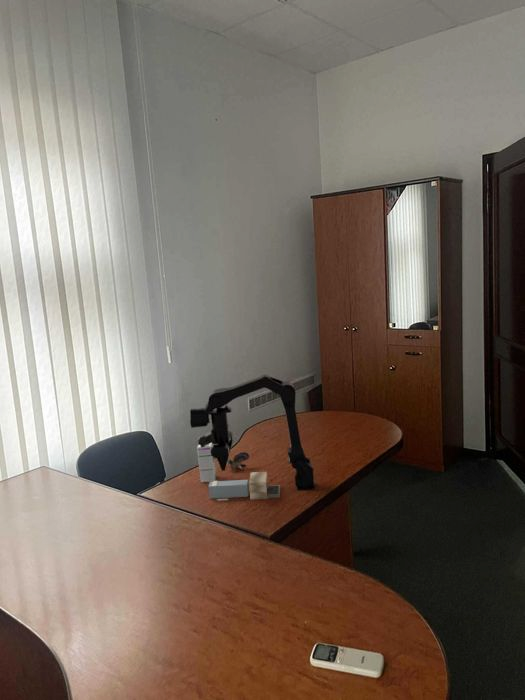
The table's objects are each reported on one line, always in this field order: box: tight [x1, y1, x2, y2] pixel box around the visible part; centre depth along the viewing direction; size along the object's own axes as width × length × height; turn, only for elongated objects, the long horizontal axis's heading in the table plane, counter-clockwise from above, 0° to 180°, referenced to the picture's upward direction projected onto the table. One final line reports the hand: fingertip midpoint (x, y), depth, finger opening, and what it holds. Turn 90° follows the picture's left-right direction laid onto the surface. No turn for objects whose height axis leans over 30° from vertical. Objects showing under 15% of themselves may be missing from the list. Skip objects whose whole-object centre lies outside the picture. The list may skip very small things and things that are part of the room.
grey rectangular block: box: [208, 479, 250, 499], centre depth 201 cm, size 14×4×5 cm, turn 87°
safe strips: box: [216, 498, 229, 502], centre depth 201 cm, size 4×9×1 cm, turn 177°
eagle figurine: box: [226, 451, 250, 473], centre depth 226 cm, size 8×7×9 cm
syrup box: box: [196, 443, 217, 483], centre depth 216 cm, size 6×6×14 cm
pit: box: [267, 484, 281, 499], centre depth 200 cm, size 5×9×1 cm, turn 177°
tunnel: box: [248, 471, 269, 500], centre depth 200 cm, size 6×10×6 cm, turn 177°
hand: (224, 465), depth 201 cm, fingers open, 9 cm apart
